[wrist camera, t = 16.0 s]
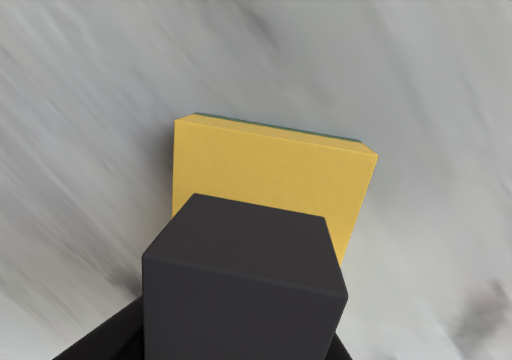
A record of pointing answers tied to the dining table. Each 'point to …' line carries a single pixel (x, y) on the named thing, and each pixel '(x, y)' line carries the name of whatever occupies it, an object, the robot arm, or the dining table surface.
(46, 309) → the dining table surface
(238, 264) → the grey eraser
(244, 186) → the sponge
